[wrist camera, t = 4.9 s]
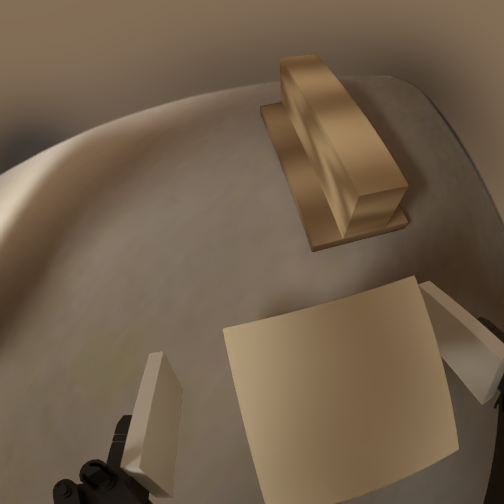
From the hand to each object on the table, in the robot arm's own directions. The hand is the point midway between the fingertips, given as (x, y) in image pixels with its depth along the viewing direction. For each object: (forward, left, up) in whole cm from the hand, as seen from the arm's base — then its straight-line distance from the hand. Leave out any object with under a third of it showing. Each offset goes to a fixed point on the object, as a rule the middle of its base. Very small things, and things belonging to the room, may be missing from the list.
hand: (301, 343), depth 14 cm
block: (+2, -1, -6) cm, 6 cm away
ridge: (-7, +15, -6) cm, 17 cm away
